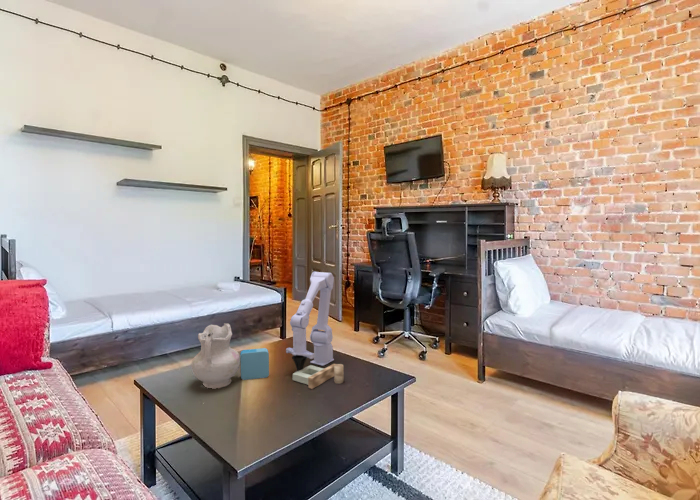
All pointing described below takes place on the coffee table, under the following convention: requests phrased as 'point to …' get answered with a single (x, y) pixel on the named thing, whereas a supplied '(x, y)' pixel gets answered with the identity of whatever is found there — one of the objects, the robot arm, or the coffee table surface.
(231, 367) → the ceramic pitcher
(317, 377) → the oak wall
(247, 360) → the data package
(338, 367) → the birch dowel
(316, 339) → the robot arm
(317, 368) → the socket block
